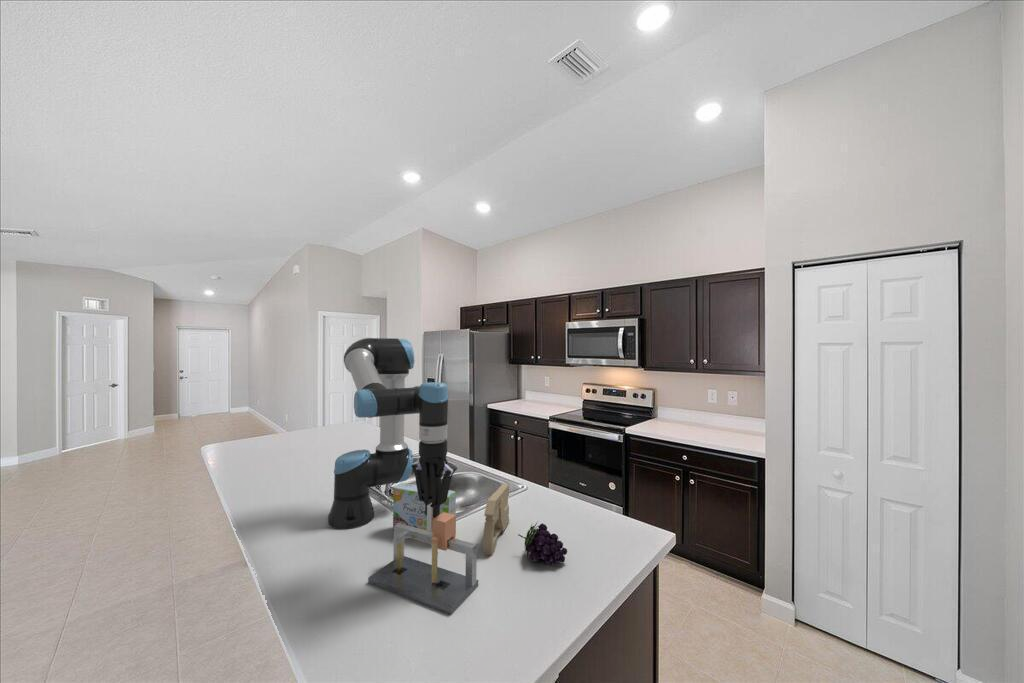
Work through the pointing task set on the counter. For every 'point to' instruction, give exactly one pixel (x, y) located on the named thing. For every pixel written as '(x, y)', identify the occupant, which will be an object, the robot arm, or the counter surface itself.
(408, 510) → the snack box
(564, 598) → the counter surface
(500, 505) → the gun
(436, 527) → the block
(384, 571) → the bolt plate
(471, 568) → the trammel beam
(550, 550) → the fruit
